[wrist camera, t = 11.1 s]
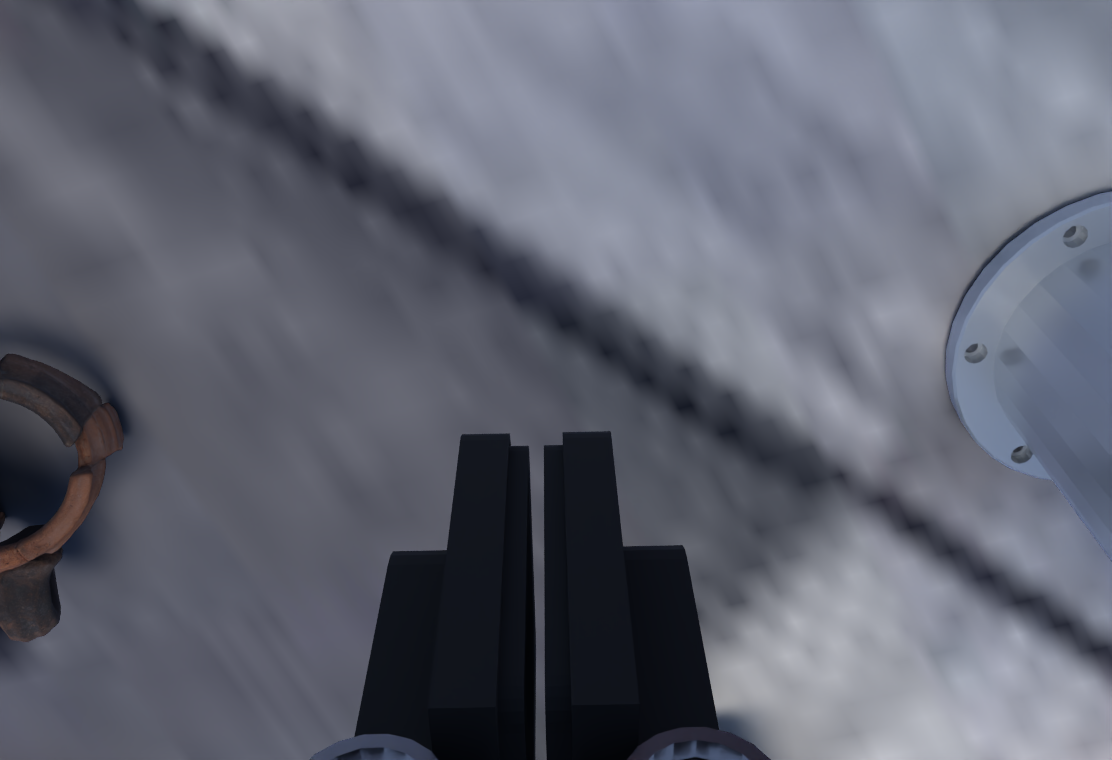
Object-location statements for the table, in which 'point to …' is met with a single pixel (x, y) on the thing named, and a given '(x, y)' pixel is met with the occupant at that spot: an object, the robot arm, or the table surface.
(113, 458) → the table surface
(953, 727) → the table surface
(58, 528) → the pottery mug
